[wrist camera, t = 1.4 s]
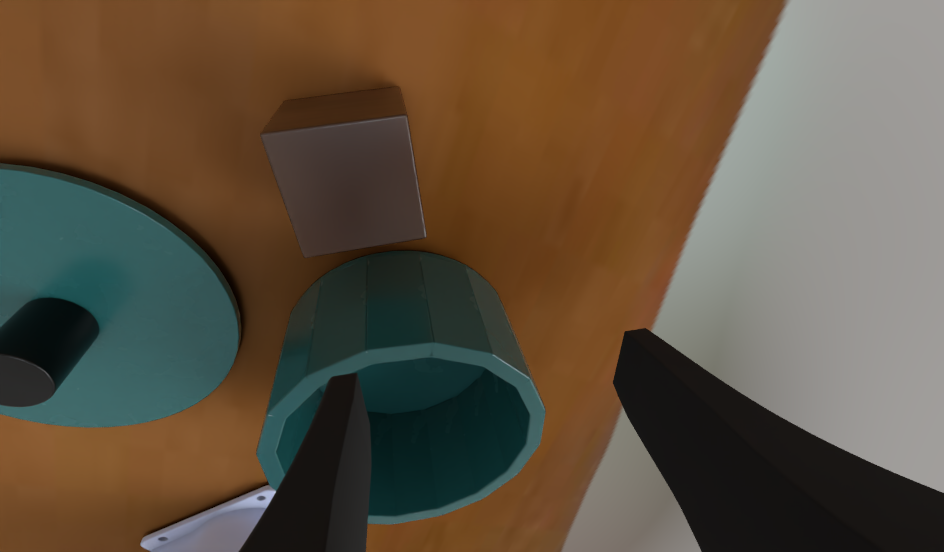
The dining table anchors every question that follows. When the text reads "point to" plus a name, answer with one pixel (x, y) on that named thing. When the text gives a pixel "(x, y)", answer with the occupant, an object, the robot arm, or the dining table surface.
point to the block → (346, 170)
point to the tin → (410, 381)
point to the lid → (104, 306)
